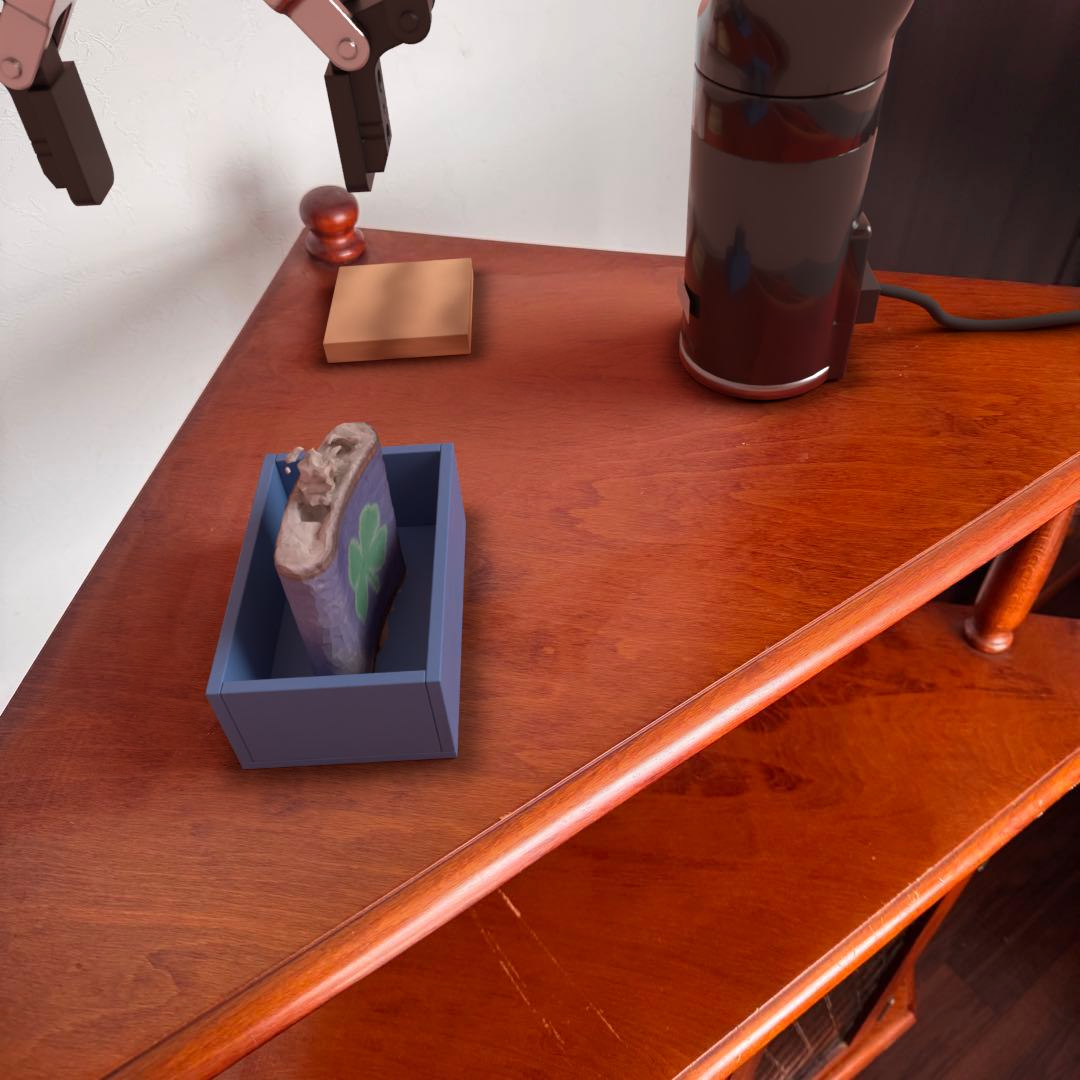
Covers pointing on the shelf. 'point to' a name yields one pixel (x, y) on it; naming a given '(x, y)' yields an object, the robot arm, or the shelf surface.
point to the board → (400, 311)
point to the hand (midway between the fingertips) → (230, 188)
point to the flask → (341, 551)
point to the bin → (403, 663)
